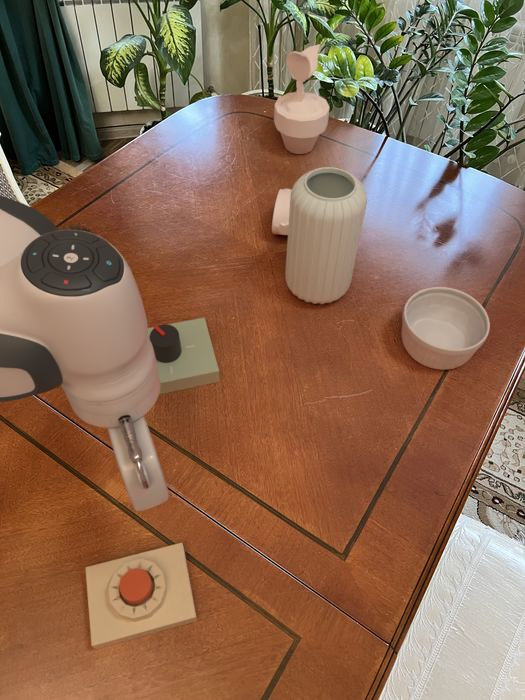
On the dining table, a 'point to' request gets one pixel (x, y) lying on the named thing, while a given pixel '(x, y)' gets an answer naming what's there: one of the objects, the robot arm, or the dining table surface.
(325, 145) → the dining table surface
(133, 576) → the button
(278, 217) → the soap bar
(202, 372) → the panel
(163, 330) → the knob
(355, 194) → the vase
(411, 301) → the ramekin
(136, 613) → the button box
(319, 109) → the potted plant
